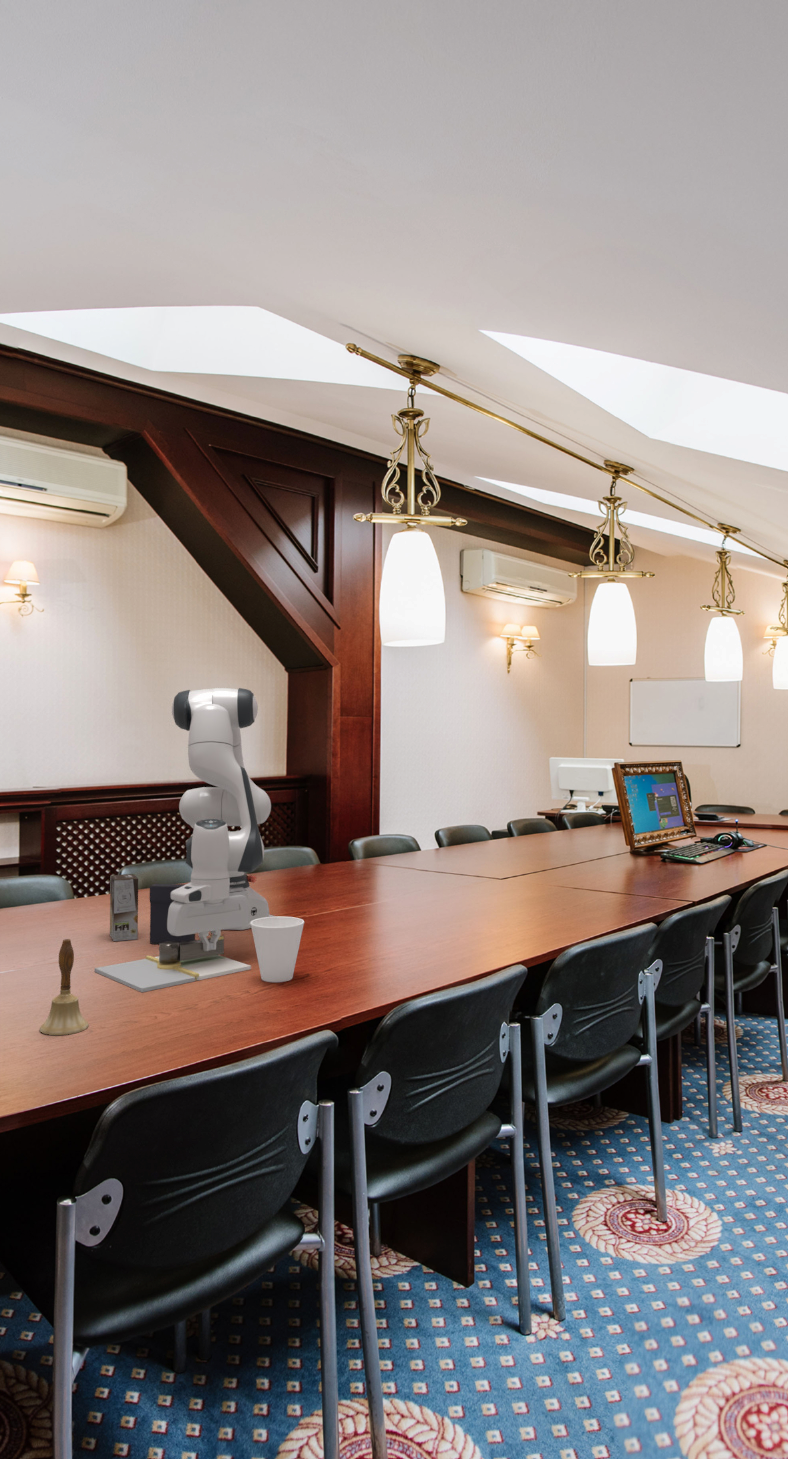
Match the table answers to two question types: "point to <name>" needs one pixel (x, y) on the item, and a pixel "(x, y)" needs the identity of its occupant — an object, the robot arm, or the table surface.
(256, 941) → the cup
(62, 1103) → the table surface
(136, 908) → the coffee box
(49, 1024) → the hand bell
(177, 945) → the bar
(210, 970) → the base
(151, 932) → the dark blue box
